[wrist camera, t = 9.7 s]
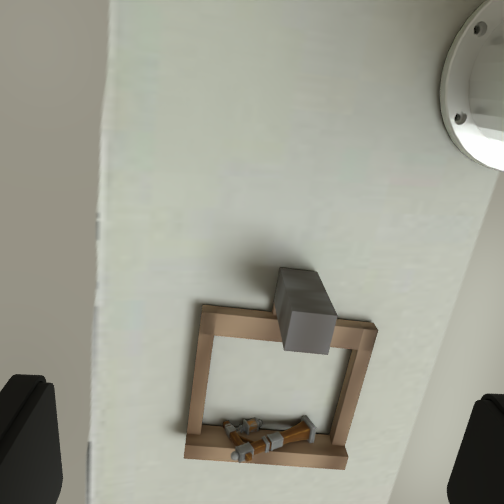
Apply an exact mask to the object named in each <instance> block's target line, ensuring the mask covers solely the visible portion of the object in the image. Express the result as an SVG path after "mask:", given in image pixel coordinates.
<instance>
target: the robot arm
mask: <svg viewBox="0 0 504 504" xmlns="http://www.w3.org/2000/svg"><path fill="white" fill-rule="evenodd" d="M474 27H476V33H475V34H474ZM440 106H441V113H442V117H443V121H444V124H445V127H446V129H447V131H448V133H449V135H450V137H451V139H452V141H453V142H454V143H455V145H456V146H457V147H458V148H459V149H460V151H461V152H462V153H463V154H465V155H466V156H467V157H469V158H470V159H471V160H473V161H474V162H476V163H479V164H481V165H483V166H485V167H488V168H491V169H494V170H498V171H502V172H504V0H486V1H485V2H483V3H482V4H481V5H480V6H479V7H478V8H477V9H476V11H475V12H474V13H473V14H472V15H471V16H470V17H469V18H468V19H467V21H466V22H465V24H464V25H463V27H462V28H461V30H460V31H459V32H458V34H457V35H456V37H455V39H454V41H453V44H452V46H451V48H450V50H449V52H448V54H447V57H446V61H445V64H444V68H443V71H442V76H441V85H440ZM456 114H457V119H456V120H455V121H454V117H455V115H456ZM62 481H63V474H62V463H61V453H60V443H59V433H58V422H57V411H56V401H55V391H54V385H53V383H46V379H45V377H44V376H42V375H21V374H16V375H13V376H12V377H11V378H10V379H9V381H8V382H7V383H6V385H5V386H4V388H3V389H2V390H1V392H0V504H56V502H57V499H58V497H59V494H60V491H61V487H62ZM447 496H448V500H449V503H450V504H504V394H485V395H483V397H482V398H481V400H477V401H476V402H475V404H474V407H473V410H472V413H471V416H470V419H469V422H468V425H467V428H466V431H465V434H464V437H463V440H462V443H461V446H460V449H459V452H458V455H457V458H456V461H455V464H454V467H453V470H452V473H451V476H450V479H449V482H448V485H447Z"/></svg>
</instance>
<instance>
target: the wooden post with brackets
mask: <svg viewBox="0 0 504 504" xmlns="http://www.w3.org/2000/svg"><path fill="white" fill-rule="evenodd" d="M260 426H262V421H261V420H257V419H256V418H252V419H250V420H247V421H246V420H245V419H244V420H243V425H242V426H241V425H240V424H239V427H237V428H234V426H233V425H231V423H230V422H229V421H225V422H223V428H224V429H225V431H226V434H227V436H228V438H231V440H232V442H233V443H234V445H235V451H233V452H232V453H231V459H232V460H238V461H239V463H241V462H242V461H245V460H246V462H248V461H251V460H252V458H253V455H256V454H258V453H261V452H264V451H265V453H267V452H269V450H271V451H272V450H274V449H276V448H279V447H282V446H283V444H286V443H289V442H294V441H299V440H308V442H309V443H314V439H315V433H316V427H315V425H314V424H313V423H312V422H311V421H310V419H309V418H308V417H307V416H302V420H301V422H300V423H299V424H297V425H295V426H293V427H291V428H289V429H287V430H285V431H283V432H280V433H279V432H278V431H277V432H276V433H273V434H268V435H267V437H265V436H263V437H261V439H260V440H258V441H255V442H254V441H252V440H250V439H247V438H245V437H242V436H240V435H239V434H238V433H236V432H237V431H240V432H241V433H242V430H243V432H244V431H245V432H246V434H247V435H249V432H253V431H257V432H258V430H259V427H260ZM238 428H239V430H238ZM236 430H237V431H236ZM243 442H244V443H245V444H244V443H243Z"/></svg>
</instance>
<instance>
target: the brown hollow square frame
mask: <svg viewBox="0 0 504 504" xmlns="http://www.w3.org/2000/svg"><path fill="white" fill-rule="evenodd" d="M377 333H378V329H377V328H376V326H375V324H374V323H370V322H360V321H351V320H342V319H337V314H336V311H335V309H334V307H333V305H332V303H331V301H330V299H329V296H328V294H327V292H326V290H325V288H324V286H323V283H322V281H321V279H320V277H319V275H318V273H317V272H313V271H305V270H296V269H288V268H280V271H279V277H278V282H277V287H276V293H275V298H274V303H273V309H272V312H267V311H258V310H248V309H239V308H230V307H220V306H211V305H202V312H201V320H200V329H199V337H198V345H197V353H196V361H195V369H194V378H193V386H192V394H191V402H190V410H189V418H188V426H187V435H186V443H185V452H184V458H185V459H199V460H213V461H227V462H239V461H238V460H232V459H231V453H232V452H233V451H235V445H234V443H233V442H232V440H231V438H228V436H227V434H226V431H225V429H224V428H223V427H222V426H209V425H202V419H203V412H204V404H205V397H206V390H207V382H208V375H209V368H210V360H211V353H212V346H213V338H214V335H216V336H226V337H236V338H246V339H256V340H265V341H275V342H282V343H283V347H284V351H294V352H304V353H314V354H324V355H328V353H329V348H330V347H335V348H345V349H352V352H351V356H350V360H349V364H348V367H347V371H346V375H345V378H344V382H343V386H342V389H341V393H340V397H339V401H338V404H337V408H336V412H335V415H334V419H333V423H332V427H331V430H330V434H329V435H323V434H315V439H314V443H309V442H308V440H299V441H294V442H289V443H286V444H283V446H282V447H279V448H276V449H274V450H272V451H271V450H269V452H267V453H265V451H264V452H261V453H258V454H256V455H253V458H252V460H251V461H248V462H246V460H245V461H242V462H241V463H255V464H269V465H283V466H297V467H311V468H325V469H339V470H345V467H346V464H347V460H348V454H347V451H346V448H345V443H346V440H347V436H348V433H349V429H350V426H351V423H352V419H353V416H354V412H355V409H356V405H357V402H358V398H359V395H360V391H361V388H362V385H363V381H364V378H365V374H366V371H367V367H368V364H369V360H370V357H371V353H372V350H373V347H374V343H375V340H376V336H377ZM238 430H239V428H238ZM236 431H237V430H236ZM276 432H277V431H272V430H260V429H259V430H258V432H257V431H253V432H249V435H247V434H246V432H245V431H244V432H243V430H242V433H241V432H240V431H237V432H236V433H238V434H239V435H240V436H242V437H245V438H247V439H250V440H252V441H254V442H255V441H258V440H260V439H261V437H263V436H265V437H267V435H268V434H273V433H276ZM278 432H279V433H280V432H283V431H278ZM243 443H244V442H243ZM244 444H245V443H244Z"/></svg>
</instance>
